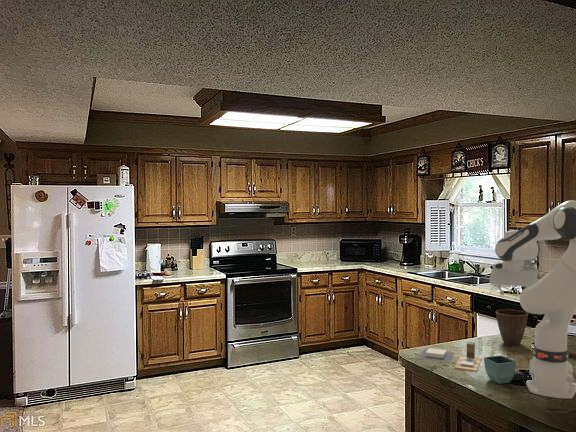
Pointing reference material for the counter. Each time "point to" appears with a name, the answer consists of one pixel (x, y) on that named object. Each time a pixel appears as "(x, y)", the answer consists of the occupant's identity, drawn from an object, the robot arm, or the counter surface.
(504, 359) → the flower pot
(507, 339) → the plant pot
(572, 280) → the robot arm
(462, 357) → the board
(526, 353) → the counter surface
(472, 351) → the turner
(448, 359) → the mat
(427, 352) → the tile
